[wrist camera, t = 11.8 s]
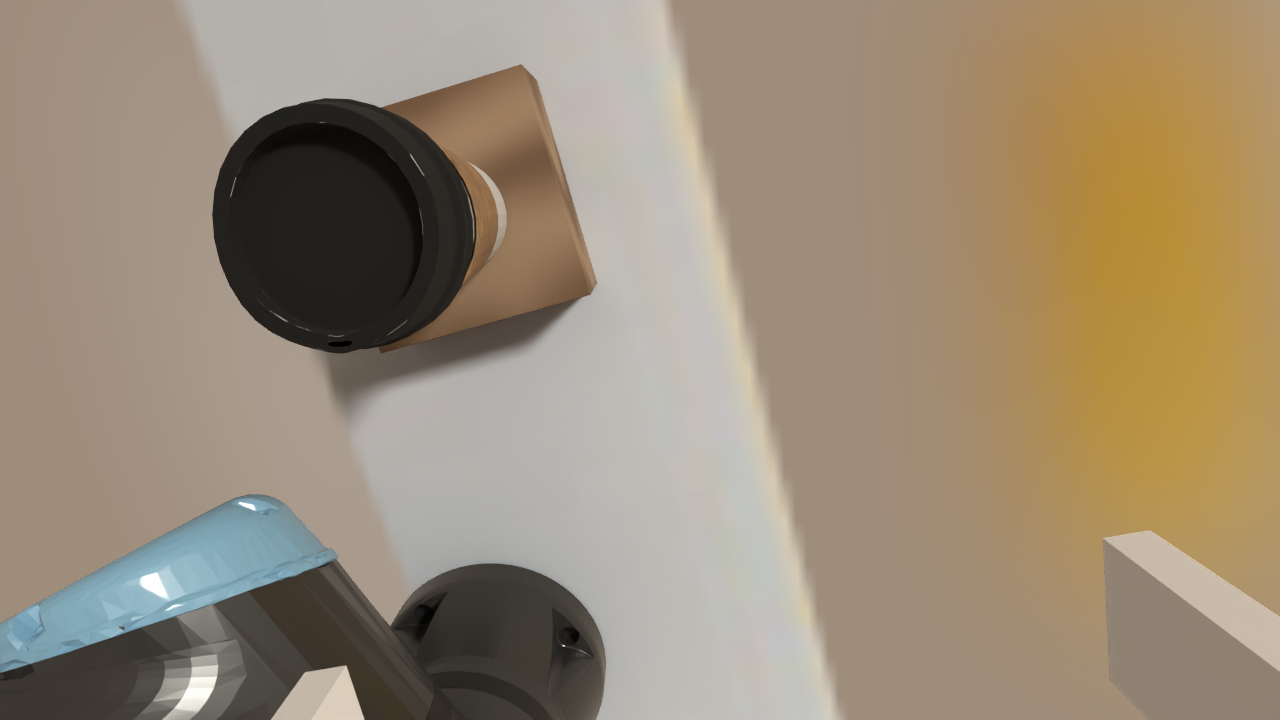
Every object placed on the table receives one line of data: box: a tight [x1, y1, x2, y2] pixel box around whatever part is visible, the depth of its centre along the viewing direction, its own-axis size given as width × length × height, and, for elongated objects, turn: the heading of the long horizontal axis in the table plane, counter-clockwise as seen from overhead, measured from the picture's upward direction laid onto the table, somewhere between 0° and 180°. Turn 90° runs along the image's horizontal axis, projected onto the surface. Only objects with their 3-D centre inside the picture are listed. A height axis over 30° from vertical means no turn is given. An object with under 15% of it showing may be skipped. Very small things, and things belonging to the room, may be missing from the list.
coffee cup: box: [212, 98, 507, 353], centre depth 29 cm, size 8×8×15 cm
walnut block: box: [379, 65, 597, 353], centre depth 39 cm, size 12×12×5 cm
